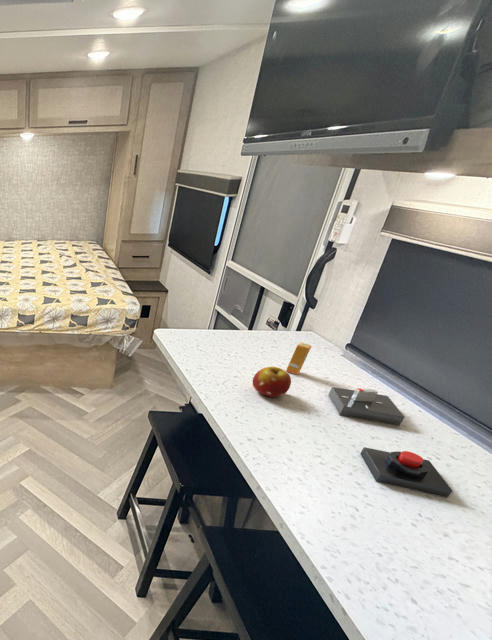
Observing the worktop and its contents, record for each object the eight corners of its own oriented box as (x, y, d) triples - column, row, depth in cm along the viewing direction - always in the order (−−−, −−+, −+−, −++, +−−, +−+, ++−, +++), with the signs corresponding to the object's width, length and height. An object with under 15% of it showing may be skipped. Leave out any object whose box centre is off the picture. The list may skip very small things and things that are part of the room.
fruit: (265, 402, 116) (274, 379, 112) (242, 386, 123) (249, 364, 120) (293, 399, 117) (303, 375, 113) (268, 383, 125) (277, 361, 121)
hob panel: (382, 404, 114) (388, 395, 113) (399, 426, 105) (405, 416, 104) (328, 395, 119) (332, 386, 117) (339, 415, 110) (344, 405, 109)
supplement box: (297, 375, 129) (308, 348, 124) (285, 371, 132) (296, 344, 127) (300, 372, 131) (312, 345, 126) (288, 368, 133) (299, 341, 129)
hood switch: (424, 467, 92) (433, 454, 90) (447, 498, 84) (457, 484, 82) (359, 453, 96) (367, 440, 94) (375, 482, 88) (384, 468, 86)
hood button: (415, 459, 89) (419, 453, 88) (422, 469, 86) (426, 463, 85) (394, 455, 90) (398, 449, 89) (401, 465, 87) (405, 459, 87)
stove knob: (369, 399, 111) (374, 388, 110) (373, 401, 110) (378, 391, 109) (350, 398, 112) (356, 387, 110) (354, 400, 111) (359, 390, 109)
